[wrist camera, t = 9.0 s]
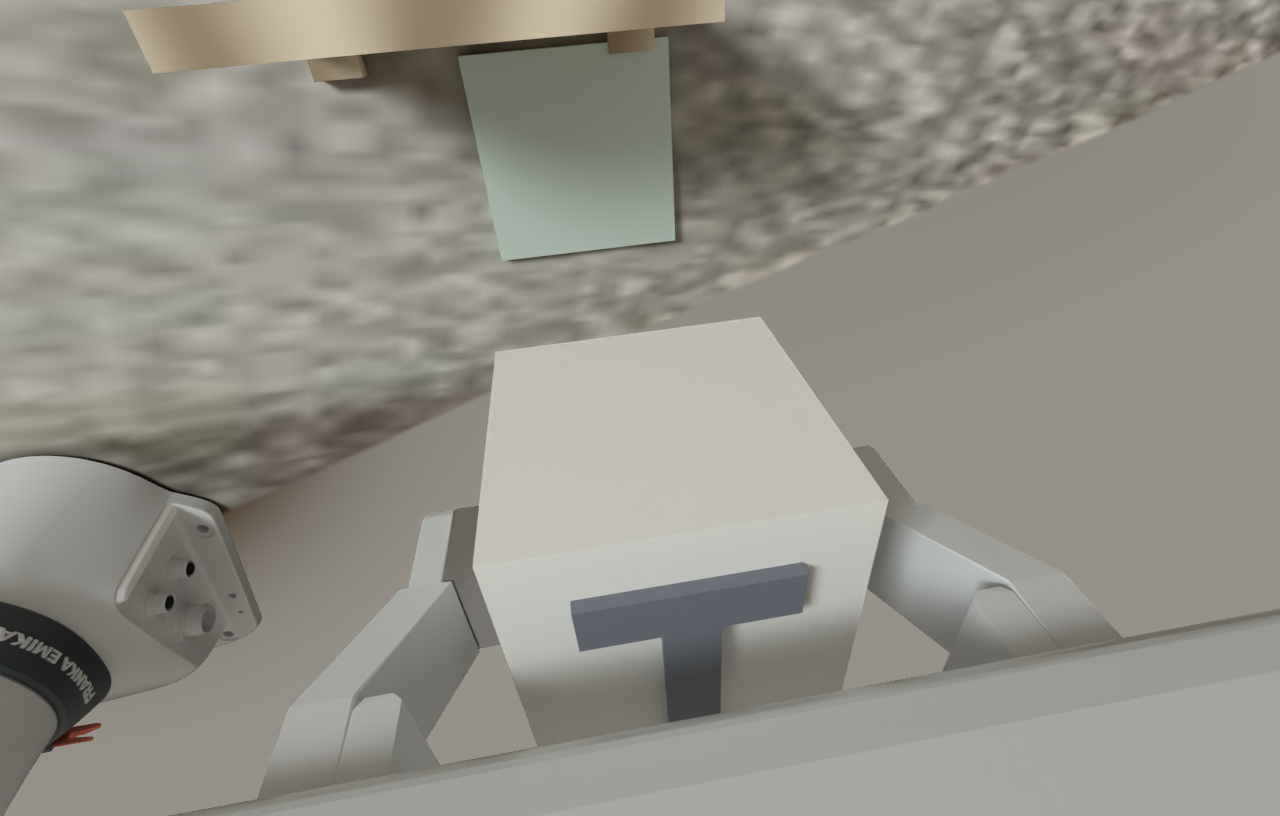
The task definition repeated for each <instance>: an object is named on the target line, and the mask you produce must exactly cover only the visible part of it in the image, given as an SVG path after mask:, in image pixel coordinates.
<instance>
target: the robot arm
mask: <svg viewBox="0 0 1280 816" xmlns="http://www.w3.org/2000/svg"><path fill="white" fill-rule="evenodd" d="M853 450H854V451H855V453H856V454H857V456H858V457H859V458H860V460H861V461H862V463H863V464H864V466H865V467H866V468H867V470H868V471H869V473H870V474H871V476H872V477H873V478H874V480H875V481H876V483H877V484H878V486H879V487H880V488H881V490H882V491H883V493H884V494H885V496H886V497H887V498H888V500H889V501H888V505H887V509H886V513H885V517H884V521H883V525H882V529H881V533H880V537H879V541H878V545H877V549H876V553H875V557H874V561H873V565H872V569H871V574H870V578H869V582H868V586H867V589H868V590H870V591H871V592H872V593H873V594H875V595H876V596H877V597H879V598H880V599H881V600H882V601H884V602H885V603H886V604H888V605H889V606H890V607H891V608H893V609H894V610H895V611H897V612H898V613H899V614H900V615H902V616H903V617H905V618H906V619H907V620H908V621H909V622H911V623H912V624H913V625H915V626H916V627H917V628H918V629H920V630H921V631H922V632H924V633H925V634H926V635H927V636H929V637H930V638H931V639H933V640H934V641H935V642H936V643H938V644H939V645H940V646H942V647H943V648H944V649H945V650H947V651H948V652H949V653H950V654H949V657H948V659H947V661H946V664H945V666H944V669H943V671H942V672H938V673H933V674H927V675H922V676H917V677H911V678H906V679H901V680H895V681H890V682H885V683H880V684H874V685H869V686H864V687H858V688H852V689H848V690H842V691H836V692H831V693H826V694H820V695H815V696H809V697H804V698H799V699H793V700H788V701H783V702H777V703H772V704H766V705H761V706H756V707H750V708H745V709H740V710H734V711H729V712H723V713H718V714H713V715H707V716H702V717H697V718H691V719H686V720H680V721H675V722H670V723H664V724H659V725H654V726H648V727H643V728H637V729H632V730H627V731H621V732H616V733H611V734H605V735H600V736H594V737H589V738H584V739H578V740H573V741H567V742H562V743H557V744H551V745H546V746H541V747H535V748H530V749H525V750H519V751H514V752H509V753H503V754H498V755H492V756H487V757H482V758H476V759H471V760H465V761H460V762H455V763H449V764H444V765H440V764H439V763H438V761H437V759H436V757H435V756H434V754H433V752H432V750H431V749H430V747H429V745H428V744H427V742H426V738H427V737H428V735H429V734H430V732H431V730H432V729H433V727H434V726H435V724H436V722H437V721H438V719H439V717H440V716H441V714H442V712H443V711H444V709H445V708H446V706H447V704H448V703H449V701H450V699H451V698H452V696H453V694H454V693H455V691H456V689H457V688H458V686H459V685H460V683H461V681H462V680H463V678H464V676H465V674H466V673H467V671H468V670H469V668H470V666H471V665H472V663H473V661H474V659H475V658H476V656H477V655H478V653H479V648H484V647H489V646H494V645H499V644H500V642H499V639H498V636H497V633H496V631H495V628H494V625H493V622H492V620H491V617H490V614H489V611H488V609H487V606H486V603H485V600H484V598H483V595H482V592H481V589H480V587H479V584H478V581H477V578H476V576H475V573H474V570H473V567H472V566H473V557H474V548H475V539H476V530H477V520H478V511H479V506H475V507H467V508H460V509H456V510H449V511H441V512H432V513H428V514H427V515H426V516H425V518H424V519H423V522H422V527H421V531H420V536H419V540H418V545H417V550H416V554H415V559H414V564H413V569H412V573H411V578H410V582H409V587H408V588H406V589H401V590H399V591H398V592H397V593H396V594H395V595H394V596H393V597H392V598H391V599H390V600H389V601H388V602H387V604H386V605H385V606H384V607H383V608H382V609H381V610H380V611H379V612H378V613H377V614H376V615H375V617H374V618H373V619H372V620H371V621H370V622H369V623H368V624H367V625H366V626H365V627H364V628H363V629H362V630H361V631H360V632H359V634H358V635H357V636H356V637H355V638H354V639H353V640H352V641H351V642H350V643H349V644H348V645H347V646H346V647H345V649H344V650H343V651H342V652H341V653H340V654H339V655H338V656H337V657H336V658H335V659H334V660H333V661H332V662H331V664H330V665H329V666H328V667H327V668H326V669H325V670H324V671H323V672H322V673H321V674H320V675H319V677H318V678H317V679H316V680H315V681H314V682H313V683H312V684H311V685H310V686H309V687H308V688H307V689H306V691H304V693H303V694H302V695H301V696H300V697H299V698H298V699H297V700H296V701H295V702H294V703H293V704H292V706H291V707H290V708H289V709H288V712H287V715H286V718H285V720H284V723H283V726H282V729H281V732H280V735H279V738H278V740H277V744H276V746H275V749H274V752H273V755H272V758H271V761H270V764H269V766H268V769H267V772H266V775H265V778H264V781H263V783H262V786H261V789H260V792H259V795H258V798H257V799H256V800H251V801H245V802H240V803H235V804H229V805H224V806H219V807H213V808H208V809H203V810H197V811H192V812H186V813H181V814H176V815H170V816H1280V609H1275V610H1270V611H1265V612H1260V613H1254V614H1248V615H1243V616H1238V617H1233V618H1227V619H1222V620H1216V621H1212V622H1206V623H1201V624H1195V625H1190V626H1185V627H1179V628H1174V629H1168V630H1163V631H1158V632H1152V633H1147V634H1142V635H1137V636H1131V637H1126V638H1123V637H1122V636H1121V635H1120V634H1119V633H1118V632H1117V631H1116V630H1115V629H1114V628H1113V627H1112V626H1111V624H1110V623H1109V622H1108V621H1107V620H1106V619H1105V618H1104V617H1103V616H1102V615H1101V613H1100V612H1099V611H1098V610H1097V609H1096V608H1095V607H1094V606H1093V605H1092V604H1091V603H1090V601H1089V600H1088V599H1087V598H1086V597H1085V596H1084V595H1083V594H1082V593H1081V591H1080V590H1079V589H1078V588H1077V587H1076V586H1075V585H1074V584H1073V583H1072V582H1071V581H1070V579H1069V578H1068V577H1067V576H1066V575H1065V574H1064V573H1062V572H1060V571H1058V570H1056V569H1054V568H1052V567H1050V566H1048V565H1046V564H1044V563H1042V562H1040V561H1038V560H1036V559H1034V558H1032V557H1030V556H1028V555H1026V554H1024V553H1022V552H1020V551H1018V550H1016V549H1014V548H1012V547H1010V546H1008V545H1006V544H1004V543H1002V542H1000V541H998V540H996V539H994V538H992V537H990V536H988V535H986V534H984V533H982V532H980V531H978V530H976V529H974V528H972V527H970V526H968V525H966V524H964V523H962V522H960V521H958V520H956V519H954V518H952V517H950V516H948V515H946V514H944V513H942V512H940V511H938V510H936V509H934V508H932V507H930V506H928V505H926V504H924V505H917V504H916V503H915V502H914V500H913V499H912V498H911V496H910V495H909V494H908V493H907V491H906V490H905V489H904V487H903V486H902V485H901V483H900V482H899V481H898V479H897V478H896V477H895V475H894V474H893V473H892V471H891V470H890V469H889V468H888V466H887V465H886V464H885V462H884V461H883V460H882V458H881V457H880V456H879V454H878V453H877V452H876V451H875V449H874V448H872V447H870V446H863V447H858V448H853ZM260 621H261V613H260V611H259V608H258V605H257V603H256V600H255V598H254V595H253V592H252V590H251V587H250V585H249V582H248V579H247V577H246V574H245V572H244V569H243V566H242V564H241V561H240V559H239V556H238V553H237V551H236V548H235V546H234V543H233V541H232V538H231V535H230V533H229V530H228V528H227V525H226V523H225V520H224V517H223V515H222V512H221V510H220V509H219V508H218V507H217V506H216V505H215V504H213V503H211V502H209V501H206V500H203V499H200V498H196V497H192V496H188V495H184V494H179V493H174V492H171V491H168V490H166V489H163V488H161V487H159V486H157V485H155V484H153V483H151V482H149V481H147V480H145V479H143V478H141V477H139V476H136V475H134V474H132V473H129V472H127V471H124V470H121V469H119V468H116V467H113V466H109V465H106V464H102V463H98V462H94V461H90V460H84V459H79V458H71V457H61V456H31V457H22V458H16V459H12V460H7V461H4V462H1V463H0V816H4V814H5V812H6V810H7V808H8V807H9V805H10V803H11V802H12V800H13V798H14V796H15V795H16V793H17V792H18V790H19V788H20V787H21V785H22V783H23V782H24V780H25V778H26V777H27V775H28V773H29V772H30V770H31V769H32V767H33V766H34V764H35V763H36V761H37V759H38V758H39V756H40V754H41V753H46V752H50V751H52V749H53V748H54V747H57V746H62V745H68V744H75V743H81V742H86V741H91V740H93V739H94V738H93V737H77V738H75V737H76V736H78V735H83V734H86V733H89V732H91V731H93V730H96V729H98V728H100V727H101V724H100V723H94V724H88V725H83V726H76V727H73V726H74V725H75V724H76V723H77V722H78V721H80V720H81V719H82V718H83V717H84V716H85V715H86V714H88V713H89V712H90V711H91V710H92V709H93V708H94V707H95V706H96V705H98V704H99V703H102V702H106V701H110V700H114V699H117V698H122V697H126V696H130V695H134V694H138V693H142V692H145V691H149V690H153V689H157V688H160V687H164V686H167V685H169V684H172V683H174V682H177V681H179V680H181V679H183V678H185V677H186V676H188V675H189V674H191V673H192V672H194V671H195V670H196V669H197V668H198V667H199V666H200V665H201V664H202V663H203V662H204V661H205V659H206V658H207V657H208V655H209V654H210V652H211V651H212V649H213V647H217V646H221V645H224V644H227V643H230V642H233V641H235V640H238V639H240V638H242V637H244V636H246V635H247V634H249V633H251V632H252V631H253V630H254V629H256V628H257V626H258V624H259V623H260Z"/></svg>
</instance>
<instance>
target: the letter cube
mask: <svg viewBox="0 0 1280 816" xmlns="http://www.w3.org/2000/svg"><path fill="white" fill-rule="evenodd" d="M888 501H889V500H888V498H887V497H886V496H885V494H884V493H883V491H882V490H881V488H880V487H879V486H878V484H877V483H876V481H875V480H874V478H873V477H872V476H871V474H870V473H869V471H868V470H867V468H866V467H865V466H864V464H863V463H862V461H861V460H860V458H859V457H858V456H857V454H856V453H855V451H854V450H853V448H852V447H851V446H850V444H849V443H848V441H847V440H846V439H845V437H844V436H843V434H842V433H841V431H840V430H839V428H838V427H837V426H836V424H835V423H834V421H833V420H832V418H831V417H830V416H829V414H828V413H827V411H826V410H825V408H824V407H823V406H822V404H821V403H820V401H819V400H818V398H817V397H816V396H815V394H814V393H813V391H812V390H811V388H810V387H809V386H808V384H807V383H806V381H805V380H804V378H803V377H802V376H801V374H800V373H799V371H798V370H797V368H796V367H795V366H794V364H793V363H792V361H791V360H790V358H789V357H788V356H787V354H786V353H785V351H784V350H783V348H782V347H781V346H780V344H779V343H778V341H777V340H776V339H775V337H774V336H773V334H772V333H771V331H770V330H769V328H768V327H767V326H766V324H765V323H764V321H763V320H762V318H761V317H754V318H747V319H739V320H732V321H724V322H717V323H709V324H702V325H694V326H687V327H679V328H672V329H664V330H657V331H649V332H642V333H634V334H627V335H619V336H612V337H604V338H597V339H589V340H582V341H574V342H567V343H559V344H552V345H544V346H537V347H529V348H522V349H514V350H507V351H499V352H496V354H495V363H494V373H493V382H492V391H491V400H490V410H489V419H488V428H487V437H486V447H485V456H484V465H483V474H482V483H481V493H480V502H479V511H478V520H477V530H476V539H475V548H474V557H473V566H472V567H473V570H474V573H475V576H476V578H477V581H478V584H479V587H480V589H481V592H482V595H483V598H484V600H485V603H486V606H487V609H488V611H489V614H490V617H491V620H492V622H493V625H494V628H495V631H496V633H497V636H498V639H499V642H500V644H501V647H502V650H503V652H504V655H505V658H506V661H507V663H508V666H509V669H510V672H511V674H512V677H513V680H514V682H515V685H516V688H517V691H518V694H519V696H520V699H521V702H522V705H523V707H524V710H525V713H526V716H527V718H528V721H529V724H530V727H531V729H532V732H533V734H534V738H535V740H536V743H537V746H538V747H541V746H546V745H551V744H557V743H562V742H567V741H573V740H578V739H584V738H589V737H594V736H600V735H605V734H611V733H616V732H621V731H627V730H632V729H637V728H643V727H648V726H654V725H659V724H664V723H670V722H675V721H680V720H686V719H691V718H697V717H702V716H707V715H713V714H718V713H723V712H729V711H734V710H740V709H745V708H750V707H756V706H761V705H766V704H772V703H777V702H783V701H788V700H793V699H799V698H804V697H809V696H815V695H820V694H826V693H831V692H836V691H842V686H843V682H844V679H845V675H846V671H847V667H848V663H849V659H850V655H851V650H852V646H853V642H854V638H855V634H856V630H857V626H858V622H859V618H860V614H861V610H862V606H863V602H864V598H865V593H866V590H867V586H868V582H869V578H870V574H871V569H872V565H873V561H874V557H875V553H876V549H877V545H878V541H879V537H880V533H881V529H882V525H883V521H884V517H885V513H886V509H887V505H888Z"/></svg>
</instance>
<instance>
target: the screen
mask: <svg viewBox="0 0 1280 816" xmlns="http://www.w3.org/2000/svg"><path fill="white" fill-rule="evenodd" d="M123 12H124V14H125V16H126V18H127V21H128V23H129V25H130V27H131V29H132V31H133V33H134V35H135V37H136V39H137V41H138V43H139V45H140V47H141V49H142V51H143V53H144V55H145V58H146V60H147V62H148V64H149V66H150V68H151V70H152V72H153V73H164V72H175V71H186V70H197V69H208V68H219V67H230V66H241V65H252V64H263V63H274V62H285V61H296V60H307V61H308V64H309V67H310V70H311V73H312V76H313V78H314V81H315V82H320V81H331V80H342V79H352V78H363V77H365V76H367V75H368V73H367V70H366V67H365V63H364V60H363V57H362V54H373V53H384V52H395V51H406V50H417V49H428V48H439V47H450V46H461V45H472V44H483V43H494V42H505V41H516V40H527V39H538V38H549V37H560V36H571V35H582V34H593V33H604V32H606V35H607V42H608V46H609V54H619V53H629V52H640V51H651V50H655V37H654V28H659V27H670V26H681V25H692V24H703V23H714V22H725V0H248V1H236V2H224V3H212V4H200V5H188V6H176V7H163V8H151V9H139V10H127V11H123Z"/></svg>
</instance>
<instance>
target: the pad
mask: <svg viewBox="0 0 1280 816" xmlns="http://www.w3.org/2000/svg"><path fill="white" fill-rule="evenodd" d="M458 61H459V66H460V70H461V75H462V79H463V84H464V89H465V93H466V98H467V102H468V107H469V112H470V116H471V121H472V126H473V130H474V135H475V139H476V144H477V149H478V153H479V158H480V162H481V167H482V172H483V176H484V181H485V186H486V190H487V195H488V199H489V204H490V209H491V213H492V218H493V222H494V227H495V232H496V236H497V241H498V246H499V250H500V255H501V259H502V261H505V260H514V259H522V258H530V257H539V256H547V255H556V254H564V253H573V252H581V251H590V250H598V249H606V248H615V247H623V246H632V245H640V244H649V243H657V242H665V241H674V240H675V217H674V188H673V159H672V129H671V100H670V71H669V42H668V37H667V36H664V37H655V50H651V51H640V52H629V53H619V54H609V46H608V42H599V43H588V44H578V45H567V46H556V47H545V48H534V49H523V50H512V51H502V52H491V53H480V54H469V55H459V56H458Z"/></svg>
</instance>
